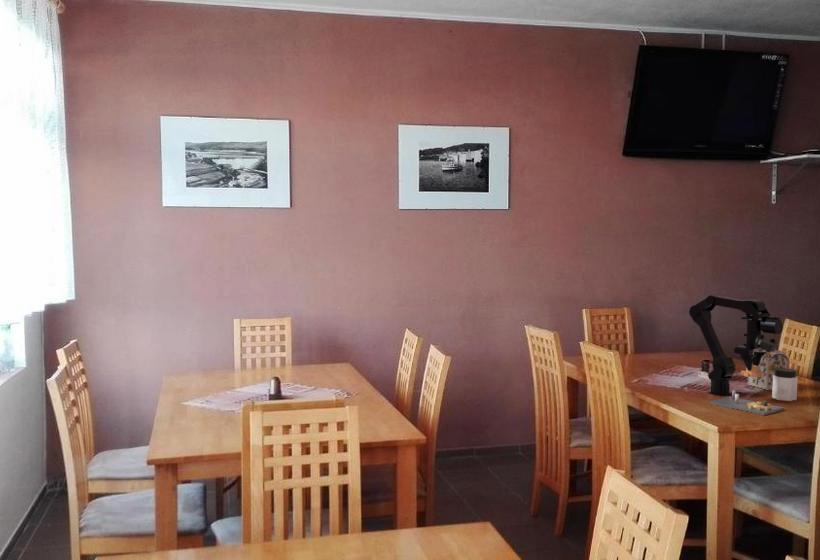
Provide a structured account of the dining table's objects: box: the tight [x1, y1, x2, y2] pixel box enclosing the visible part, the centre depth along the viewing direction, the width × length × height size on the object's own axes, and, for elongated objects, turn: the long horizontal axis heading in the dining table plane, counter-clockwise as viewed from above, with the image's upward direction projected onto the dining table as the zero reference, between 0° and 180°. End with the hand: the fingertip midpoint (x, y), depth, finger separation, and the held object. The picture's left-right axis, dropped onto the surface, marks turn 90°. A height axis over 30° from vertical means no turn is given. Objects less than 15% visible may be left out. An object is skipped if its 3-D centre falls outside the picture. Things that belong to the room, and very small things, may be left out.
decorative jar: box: [747, 349, 790, 391], centre depth 324 cm, size 12×12×18 cm
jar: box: [771, 367, 799, 402], centre depth 302 cm, size 9×8×12 cm
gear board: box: [710, 389, 785, 416], centre depth 288 cm, size 22×14×4 cm, turn 35°
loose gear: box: [740, 365, 765, 378], centre depth 298 cm, size 9×9×4 cm
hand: (752, 369), depth 298 cm, fingers closed on loose gear, 4 cm apart
